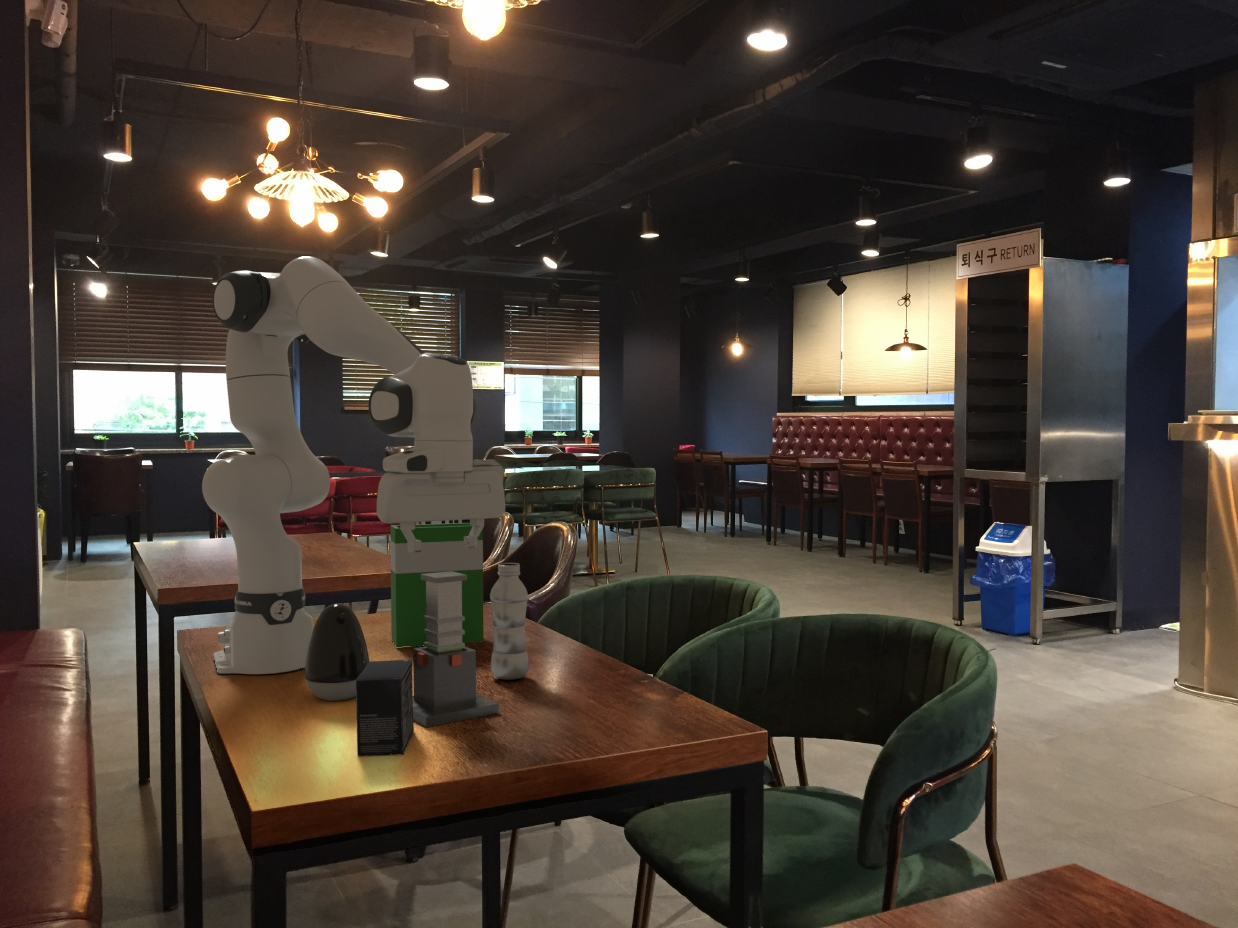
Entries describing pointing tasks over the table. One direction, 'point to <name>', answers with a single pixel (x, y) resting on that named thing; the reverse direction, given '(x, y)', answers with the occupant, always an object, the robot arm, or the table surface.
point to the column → (444, 612)
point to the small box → (384, 708)
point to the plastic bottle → (509, 624)
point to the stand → (447, 688)
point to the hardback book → (437, 555)
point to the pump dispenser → (336, 654)
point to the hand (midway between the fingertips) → (443, 550)
